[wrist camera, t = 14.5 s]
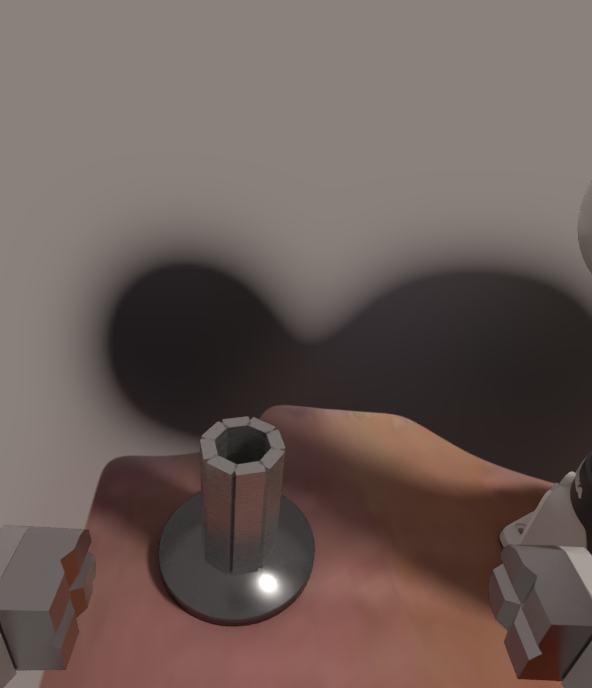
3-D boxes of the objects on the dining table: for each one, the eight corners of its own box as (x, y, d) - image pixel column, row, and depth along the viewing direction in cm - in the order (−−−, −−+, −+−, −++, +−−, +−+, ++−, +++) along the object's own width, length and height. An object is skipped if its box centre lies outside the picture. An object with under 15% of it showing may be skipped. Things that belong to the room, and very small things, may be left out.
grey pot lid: (252, 472, 55) (254, 436, 52) (344, 562, 46) (352, 524, 44) (131, 538, 46) (126, 499, 44) (216, 664, 38) (216, 625, 35)
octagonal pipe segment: (264, 509, 49) (272, 413, 43) (281, 566, 44) (292, 467, 38) (198, 520, 47) (196, 422, 41) (207, 581, 42) (207, 479, 36)
